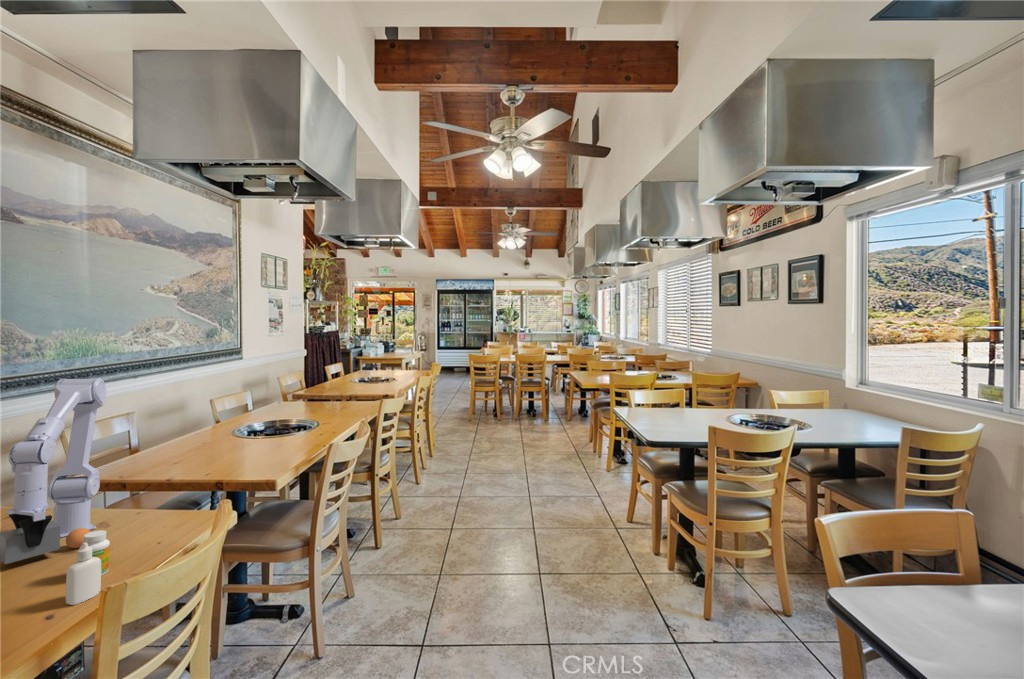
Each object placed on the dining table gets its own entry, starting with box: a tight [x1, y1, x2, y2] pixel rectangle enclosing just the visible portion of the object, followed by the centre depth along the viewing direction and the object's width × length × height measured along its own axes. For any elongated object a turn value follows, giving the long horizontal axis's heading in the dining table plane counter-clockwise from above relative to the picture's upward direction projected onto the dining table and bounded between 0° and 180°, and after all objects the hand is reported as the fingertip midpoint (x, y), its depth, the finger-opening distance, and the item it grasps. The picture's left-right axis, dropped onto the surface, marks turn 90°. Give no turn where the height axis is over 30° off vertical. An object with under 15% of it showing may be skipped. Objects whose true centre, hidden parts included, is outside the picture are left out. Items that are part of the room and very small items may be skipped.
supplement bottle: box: [79, 530, 111, 577], centre depth 108 cm, size 5×5×10 cm
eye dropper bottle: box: [65, 542, 102, 606], centre depth 98 cm, size 4×6×12 cm
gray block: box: [0, 520, 61, 565], centre depth 113 cm, size 6×10×6 cm, turn 149°
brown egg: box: [65, 528, 91, 549], centre depth 121 cm, size 5×5×5 cm
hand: (29, 542), depth 113 cm, fingers closed on gray block, 6 cm apart
